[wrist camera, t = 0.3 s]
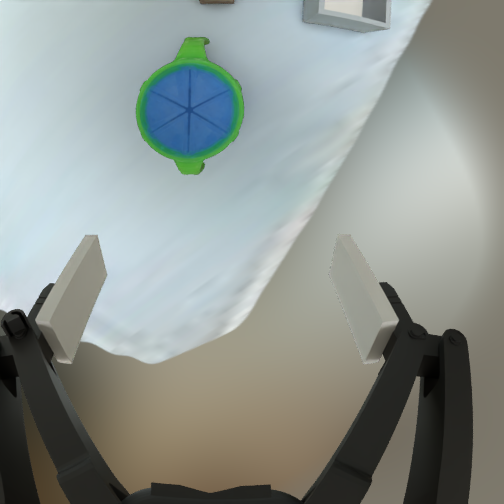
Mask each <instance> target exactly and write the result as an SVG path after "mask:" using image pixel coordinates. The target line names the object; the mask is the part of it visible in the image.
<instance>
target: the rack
mask: <svg viewBox="0 0 504 504" xmlns="http://www.w3.org/2000/svg"><path fill="white" fill-rule="evenodd" d="M199 1H200V3H201V4H234V0H199Z"/></svg>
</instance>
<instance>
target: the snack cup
mask: <svg viewBox="0 0 504 504" xmlns="http://www.w3.org/2000/svg"><path fill="white" fill-rule="evenodd" d="M209 42H210V41H209V39H207V38H205V37H194V38H192V37H188V38H186V39H185V41H184V42H183V44H182V46H181V48H180V50H179V52H178V54H177V57H176V58H175V60H174V61H173V62H171V63H169V64H167V65H165V66H163V67H162V68H160V69H158V70H157V71H156V72H155V73H153V74H152V75H151V76H150V77H149V79H148V80H147V81H145V82H144V83H143V85H142V87H141V89H140V94H139V96H138V100H137V104H136V119H137V124H138V127H139V130H140V132H141V135H142V138H143V139H144V141H146V142H147V143H148V144H149V145H150V147H151V148H153V149H154V150H155V151H156V152H158V153H159V154H161V155H163V156H165V157H167V158H170V159H173V160H174V162H175V163H176V165H177V167H178V170H180V172H181V173H182V174H184V175H185V174H186V175H188V174H194V175H197V174H199V173H200V172H201V171H202V170H203V169H204V167H205V164H204V162H203V161H204V160H205V159H207V158H210V157H212V156H214V155H216V154H218V153H220V152H221V151H223V150H224V149H225V148H226V147H227V146H228V145H229V144H230V143H231V142H233V141H234V140H235V139H236V137H237V136H238V134H239V129H240V127H241V124H242V120H243V116H244V102H243V97H242V93H241V90H242V88H241V86H240V84H239V82H238V81H237V80H235V79H234V78H233V77H232V76H231V75H230V74H229V73H228V72H227V71H226V70H224V69H223V68H221V67H220V66H218V65H216V64H214V63H212V62H210V61H209V60H208V59H207V57H206V53H205V48H204V45H206V44H209Z"/></svg>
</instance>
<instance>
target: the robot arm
mask: <svg viewBox="0 0 504 504" xmlns="http://www.w3.org/2000/svg"><path fill="white" fill-rule="evenodd" d="M329 276H330V279H331V281H332V284H333V286H334V288H335V291H336V294H337V296H338V299H339V301H340V303H341V306H342V309H343V311H344V314H345V316H346V319H347V321H348V324H349V327H350V329H351V332H352V335H353V337H354V340H355V343H356V345H357V348H358V350H359V353H360V356H361V358H362V362H363V364H369V363H377V362H379V360H380V358H381V356H382V354H383V356H384V358H385V363H384V364H383V366H382V368H381V370H380V372H379V373H378V377H377V379H376V381H375V383H374V385H373V387H372V389H371V391H370V392H369V394H368V396H367V398H366V400H365V402H364V404H363V406H362V407H361V409H360V411H359V413H358V415H357V416H356V418H355V420H354V422H353V423H352V425H351V427H350V429H349V430H348V432H347V434H346V435H345V437H344V439H343V440H342V442H341V443H340V445H339V447H338V448H337V450H336V452H335V453H334V455H333V456H332V458H331V459H330V461H329V462H328V464H327V465H326V467H325V469H324V470H323V471H322V473H321V474H320V476H319V477H318V478H317V480H316V481H315V483H314V484H313V486H311V488H310V489H309V490H308V492H307V493H306V494H305V496H304V497H303V498H302V500H301V501H300V500H299V499H297V498H296V497H294V496H291V495H290V494H287V493H284V492H281V491H277V490H271V486H270V485H255V486H240V487H235V488H231V489H227V490H223V491H219V492H214V493H207V492H203V491H199V490H196V489H192V488H188V487H185V486H181V485H172V484H161V483H151V488H147V489H143V490H140V491H137V492H135V493H133V494H131V495H130V494H129V493H128V491H127V490H126V489H125V488H124V487H123V485H122V484H121V483H120V482H119V481H118V480H117V478H116V477H115V476H114V474H113V473H112V472H111V470H110V468H109V467H108V465H107V464H106V462H105V461H104V459H103V458H102V456H101V454H100V453H99V451H98V450H97V448H96V447H95V445H94V443H93V442H92V440H91V438H90V436H89V435H88V433H87V431H86V429H85V428H84V426H83V424H82V422H81V420H80V419H79V417H78V415H77V413H76V411H75V409H74V407H73V405H72V403H71V401H70V399H69V397H68V395H67V393H66V392H65V389H64V387H63V385H62V383H61V381H60V378H59V376H58V374H57V372H56V369H55V367H54V365H53V363H52V361H51V359H52V357H53V354H54V356H55V357H56V359H57V361H58V362H61V363H68V364H72V362H73V359H74V356H75V353H76V351H77V348H78V345H79V342H80V340H81V337H82V335H83V332H84V329H85V327H86V324H87V322H88V319H89V317H90V314H91V312H92V309H93V307H94V305H95V302H96V300H97V298H98V295H99V293H100V291H101V288H102V286H103V284H104V281H105V279H106V277H107V272H106V268H105V264H104V260H103V256H102V252H101V248H100V244H99V239H98V235H85V237H84V238H83V240H82V241H81V243H80V244H79V246H78V247H77V249H76V250H75V252H74V254H73V255H72V257H71V258H70V260H69V262H68V263H67V265H66V266H65V268H64V270H63V271H62V273H61V275H60V276H59V278H58V280H57V281H56V283H55V284H54V283H50V284H49V285H48V286H46V287H45V288H44V289H43V290H42V292H41V294H40V295H39V298H38V299H37V301H36V302H35V304H34V306H33V308H32V309H31V311H30V313H29V315H28V317H26V315H25V313H24V312H23V311H22V310H20V309H15V310H12V311H10V312H8V313H7V314H6V315H5V316H4V317H3V319H2V321H1V327H2V328H3V330H4V332H5V333H6V336H0V504H40V500H39V497H38V493H37V489H36V485H35V481H34V476H33V472H32V467H31V462H30V457H29V452H28V445H27V439H26V433H25V426H24V417H23V407H22V396H21V384H22V387H23V390H24V393H25V396H26V399H27V401H28V404H29V407H30V410H31V413H32V415H33V417H34V420H35V423H36V425H37V428H38V430H39V432H40V435H41V437H42V439H43V441H44V444H45V446H46V448H47V450H48V452H49V454H50V456H51V459H52V460H53V463H54V464H55V466H56V468H57V471H58V474H57V480H58V482H59V484H60V486H61V488H62V490H63V491H64V493H65V495H66V497H67V498H68V500H69V502H70V504H360V503H361V500H362V499H363V498H364V496H365V494H366V493H367V491H368V489H369V487H370V485H371V482H372V475H373V473H374V471H375V469H376V467H377V465H378V463H379V461H380V459H381V457H382V455H383V453H384V451H385V449H386V447H387V445H388V443H389V441H390V439H391V437H392V434H393V432H394V430H395V428H396V426H397V424H398V421H399V419H400V417H401V414H402V412H403V409H404V407H405V405H406V402H407V400H408V397H409V394H410V392H411V389H412V387H413V384H414V381H415V378H416V376H420V393H419V405H418V417H417V425H416V434H415V442H414V448H413V455H412V462H411V467H410V473H409V479H408V483H407V489H406V493H405V498H404V502H403V504H468V499H469V490H470V480H471V468H472V448H473V406H472V386H471V373H470V363H469V353H468V345H467V340H466V338H465V336H464V335H463V334H462V333H461V332H460V331H458V330H455V329H448V330H446V331H445V332H444V333H443V335H442V336H437V335H431V334H428V333H427V331H426V329H425V328H424V327H422V326H421V325H419V324H416V323H413V321H412V319H411V317H410V316H409V314H408V312H407V310H406V309H405V307H404V305H403V304H402V302H401V300H400V298H399V297H398V295H397V293H396V291H395V290H394V288H392V287H391V286H390V285H389V284H388V283H387V282H381V283H378V281H377V279H376V277H375V276H374V274H373V272H372V270H371V269H370V267H369V265H368V263H367V262H366V260H365V258H364V257H363V255H362V253H361V252H360V250H359V248H358V247H357V245H356V243H355V242H354V240H353V238H352V237H351V235H341V234H340V235H339V234H338V235H337V239H336V244H335V249H334V253H333V258H332V263H331V267H330V272H329Z"/></svg>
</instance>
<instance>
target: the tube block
mask: <svg viewBox="0 0 504 504" xmlns="http://www.w3.org/2000/svg"><path fill="white" fill-rule="evenodd" d="M390 21H391V0H304V3H303V22H306V23H313V24H320V25H326V26H332V27H338V28H343V29H348V30H353V31H358V32H362V33H366V32H372V31H379V30H387V29H390Z"/></svg>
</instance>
